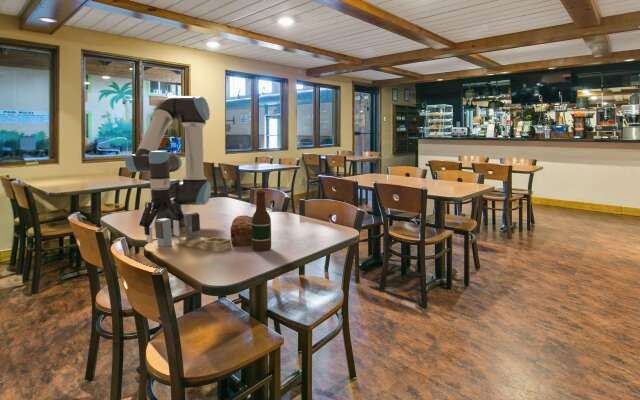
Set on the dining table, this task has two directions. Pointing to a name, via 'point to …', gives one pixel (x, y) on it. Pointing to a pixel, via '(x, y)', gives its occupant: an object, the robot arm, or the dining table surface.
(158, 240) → the block
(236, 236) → the bread
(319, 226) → the dining table surface
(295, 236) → the dining table surface
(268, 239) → the beer bottle
